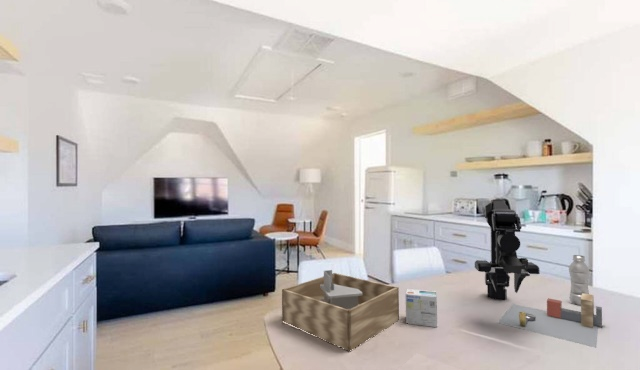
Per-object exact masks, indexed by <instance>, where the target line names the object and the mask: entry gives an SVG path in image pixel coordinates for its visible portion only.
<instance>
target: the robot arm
mask: <svg viewBox="0 0 640 370" xmlns="http://www.w3.org/2000/svg"><path fill="white" fill-rule="evenodd" d="M484 219H486V222H487V224H488V226H489V227H490V261H487V260H477V259H476V260H475V261H474V268H475V270H476V271H478V272H479V273H481V272H482V273H484V284H485V286H487V298H491V299H492V300H498V301H501V300H502V301H507V299H508V290H507V288H509V287H510V279H511V276H510V275H509V274H514V275H513V279H514V280H513V281H514V282H513V283H514V285H513V288H514V293H516V294H517V293H518V292H519V289H520V287H521V285H522V283H523V281H524V279H525V278H527V277H530V276H531V275H540V274H541V273H540V267H539V266H538V265H537V264H536V263H533V262H531V261H529V259H528V258H527V257H520V258H519V257H518V256H517V255H518V254H517V251H518V250H519V249H520V247H521V240H520V239H519V238H518V236H516V232H517V233H518V232H519V233H520V232H521V230H522V222H521V218H520V216H519V214H518V213H516V211H515V210H514V209H510V208H509V206H508V205H507V204H506V200H505V199H504V198H503V199H490V202H489V203H488V204H486V205H485V207H484Z"/></svg>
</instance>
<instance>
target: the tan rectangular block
mask: <svg viewBox="0 0 640 370" xmlns="http://www.w3.org/2000/svg"><path fill="white" fill-rule="evenodd" d="M594 304H595V302H594V295H593V294H590V293H589V294H584V293H582V297H581V306H580V312H581V326H585V327H590V328H593V314H594V315H595V311H594V310H595V309H594V308H595V305H594Z"/></svg>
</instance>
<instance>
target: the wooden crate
mask: <svg viewBox="0 0 640 370" xmlns="http://www.w3.org/2000/svg"><path fill="white" fill-rule="evenodd" d="M332 283H333V284H336V285H341V286H345V287H350V288H355V289H359V290H360V291H361V292H362V295H361V296H358V304H359V305H358V306H356V307H353V308H351V309H349V310H348V309H345V308H342V307H338V306H335V305H332V304H329V303H326V302H323V301H320V299H324V291H323V290H322V289H321V288H320V285H321V284H324V275H323V276H321V277H317V278H314V279H311V280H308V281H305V282H302V283H299V284H296V285H292V286H289V287H286V288H283V289H281V309H282V310H281V322H282V321H284V322H286V323H288V324H291V325H293V326H295V327H297V328H300V329H302V330H304V331H306V332H308V333H310V334H313V335H315V336H317V337H320V338H322V339H324V340H326V341H328V342H330V343H332V344H335V345H337V346H340V347H342V348H344V349H346V350H348V351H347V352H349V351H350V350H352V349H353V350H355V349H356V348H355V347H357V346H358V345H360V344H361V345H363V344H364V343H366V342H367V341H366V340H368V339H369V338H371V337H372V338H373V336H374V335H375V336H377V335H378V334H377V333H379V332H380V333H381V331H382V330H383V331H385V330H386V329H388V328H390V327H391V326H393V325H394V324H396V323H397V322H399V321H400V308H399V307H400V302H399V301H400V300H399V299H400V296H399V295H400V294H399V293H400V292H399V291H400V290H399V286H398V287H397V286H394V285H389V284H385V283H380V282H376V281H372V280H368V279H363V278H357V277H354V276H348V275H347V274H346V275H345V274H341V273H336V272H334V273H333V272H332ZM398 320H399V321H398ZM396 321H397V322H396ZM395 322H396V323H395ZM393 323H394V324H393ZM392 324H393V325H392ZM390 325H391V326H390ZM389 326H390V327H389ZM387 327H388V328H387ZM385 328H386V329H385ZM384 329H385V330H384ZM383 331H382V332H383ZM380 333H379V334H380ZM376 334H377V335H376ZM375 336H374V337H375ZM372 338H371V339H372ZM369 340H370V339H369ZM369 340H368V341H369ZM326 341H325V342H326ZM365 341H366V342H365ZM328 342H327V343H328ZM363 342H364V343H363ZM330 343H329V344H330ZM362 343H363V344H362ZM332 344H331V345H332ZM335 345H334V346H335ZM361 345H360V346H361ZM337 346H336V347H337ZM358 347H359V346H358ZM358 347H357V348H358ZM342 348H341V349H342ZM354 348H355V349H354ZM344 349H343V350H344ZM346 350H345V351H346ZM353 350H352V351H353ZM350 352H351V351H350Z"/></svg>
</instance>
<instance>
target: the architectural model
mask: <svg viewBox="0 0 640 370" xmlns="http://www.w3.org/2000/svg"><path fill="white" fill-rule="evenodd" d="M332 274H333V270H332V269H331V270H330V269H329V270H327V269H326V270H323V276H324V284H321V285H320V288H321V289H322V290H323V291H324V299H320V301H323V302H326V303H329V304H332V305H335V306H338V307H342V308H345V309H348V310H349V309H351V308H353V307H356V306H358V305H359V304H358V296H361V295H362V292H361V291H360V290H359V289H355V288H350V287H345V286H341V285H336V284H333V283H332Z"/></svg>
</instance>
